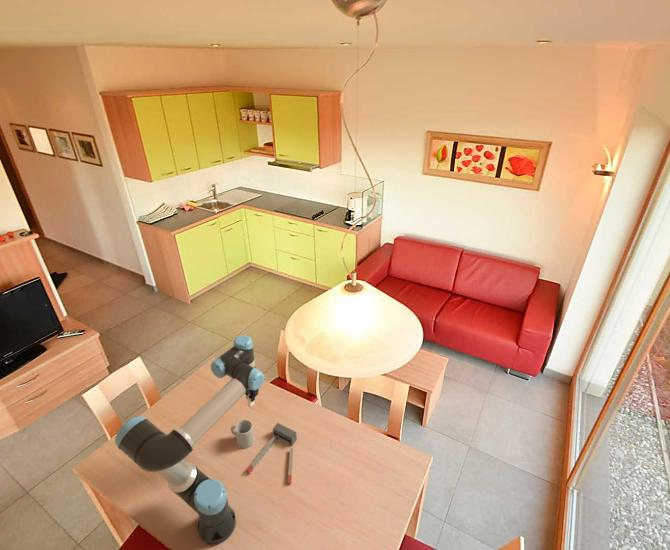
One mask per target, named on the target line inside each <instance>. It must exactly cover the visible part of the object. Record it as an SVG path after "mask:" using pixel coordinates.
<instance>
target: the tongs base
mask: <svg viewBox="0 0 670 550" xmlns="http://www.w3.org/2000/svg"><path fill="white" fill-rule="evenodd" d="M277 441H280V442H281V443H283V444H285V445H287V446H289V447H290V446H291V441H290V440H288V439H286V438H284V437H282V436H280V435H278V434H275V435H274V434H273V437H272V438H271V439H270V440H269V441H268V443H267V444H266V445H265V446H264V447H263V449H262V450H261V451H260V452H259V454H258V455H257V456H256V457H255V459H254V460H253V461H252V463H250V465H249V466H248V467H247V468H246V473H247V475H251V474H252V472H253V471H254V469H255V468H256V467H257V465H259V463H260V462H261V461H262V459H263V458H264V457H265V456H266V454H267V453H268V452H269V451H270V449H271V448H272V447H273V446H274V445H275V443H276V442H277Z"/></svg>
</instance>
